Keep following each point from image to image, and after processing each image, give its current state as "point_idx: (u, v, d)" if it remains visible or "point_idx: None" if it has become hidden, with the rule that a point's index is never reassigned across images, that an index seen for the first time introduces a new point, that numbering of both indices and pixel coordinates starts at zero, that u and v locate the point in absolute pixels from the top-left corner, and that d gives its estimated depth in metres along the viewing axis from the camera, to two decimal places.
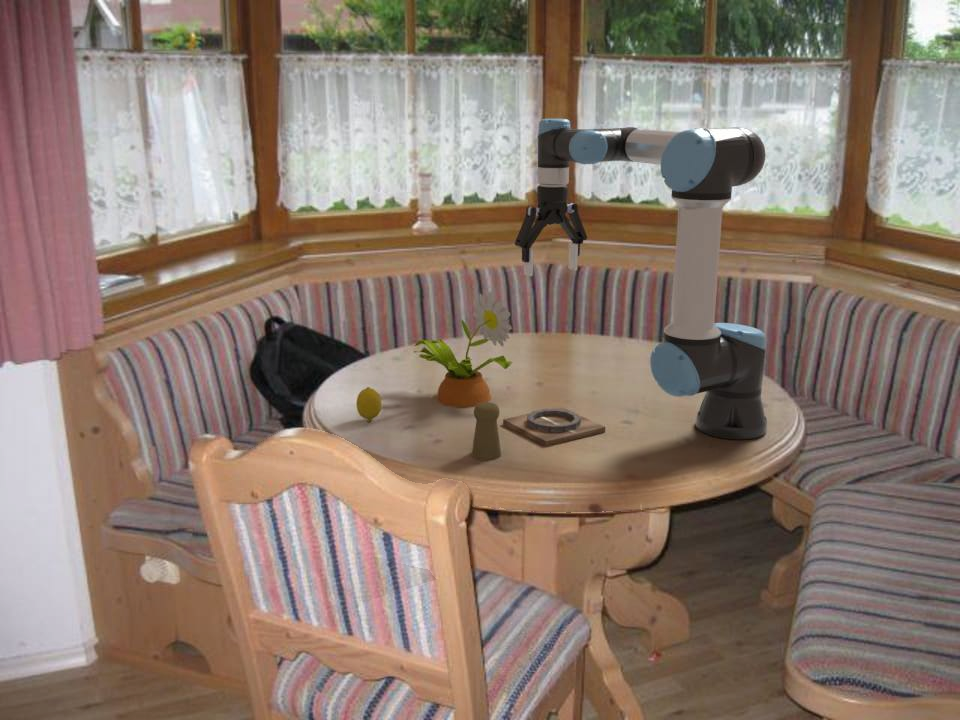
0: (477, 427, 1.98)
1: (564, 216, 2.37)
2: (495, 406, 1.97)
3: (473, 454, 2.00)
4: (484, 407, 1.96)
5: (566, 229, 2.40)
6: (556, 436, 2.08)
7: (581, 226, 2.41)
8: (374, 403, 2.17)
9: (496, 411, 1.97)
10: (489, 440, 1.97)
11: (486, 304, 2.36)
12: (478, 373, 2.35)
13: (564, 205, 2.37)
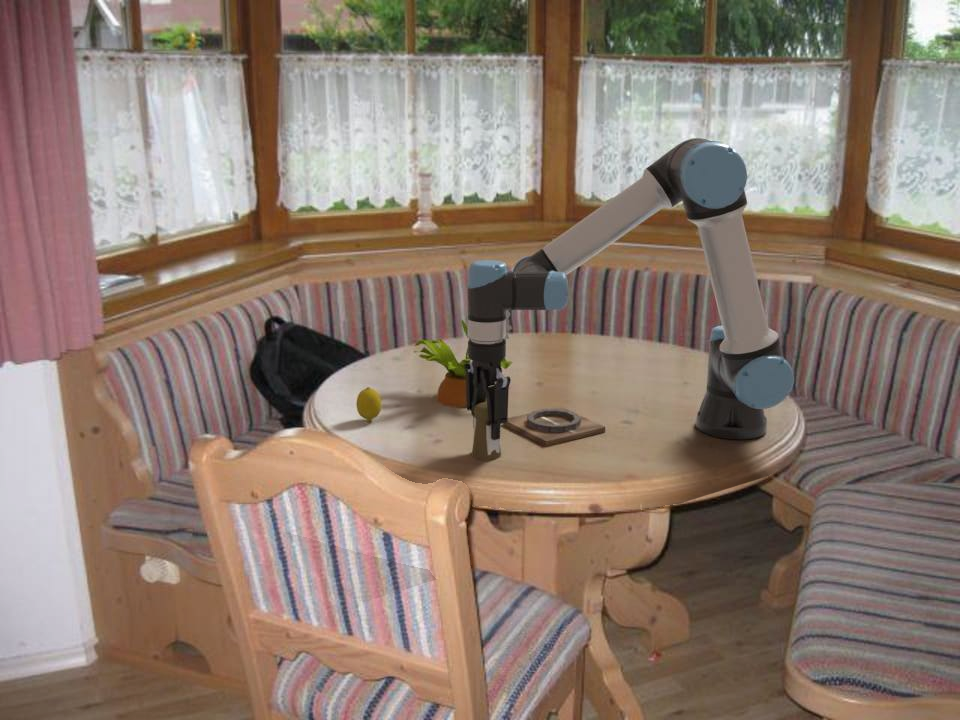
0: (477, 427, 1.98)
1: (484, 381, 1.94)
2: None
3: (473, 454, 2.00)
4: (484, 407, 1.96)
5: None
6: (556, 436, 2.08)
7: (496, 406, 1.93)
8: (374, 403, 2.17)
9: None
10: None
11: None
12: None
13: (491, 368, 1.92)
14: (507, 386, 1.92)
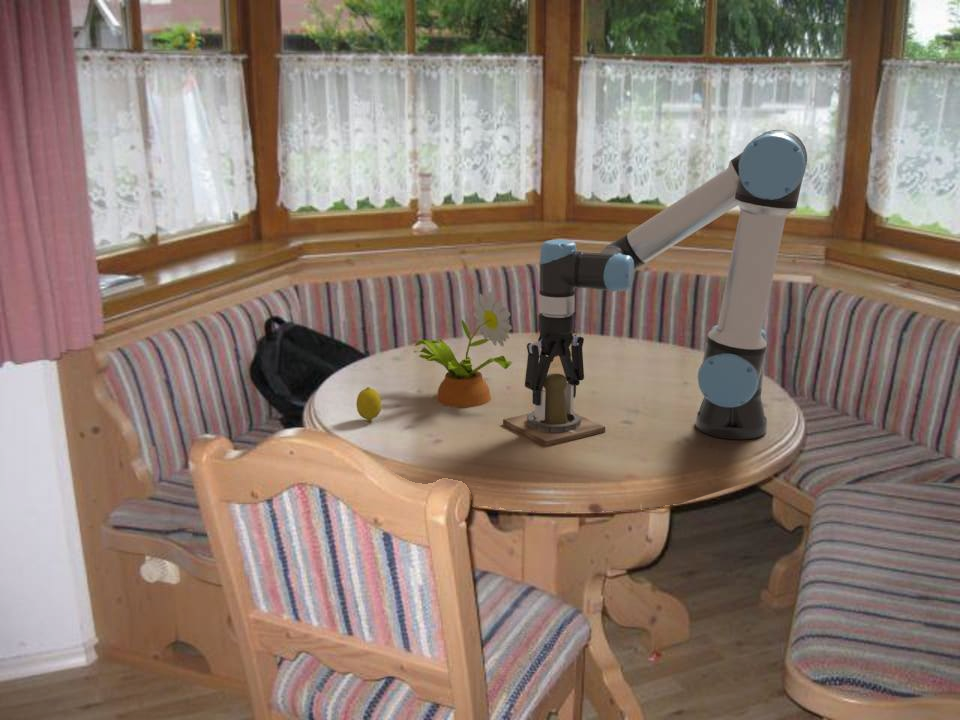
0: (560, 397, 2.12)
1: (567, 349, 2.10)
2: None
3: None
4: (563, 376, 2.12)
5: (565, 364, 2.13)
6: (556, 436, 2.08)
7: (581, 364, 2.14)
8: (374, 403, 2.17)
9: None
10: None
11: (486, 304, 2.36)
12: (478, 373, 2.35)
13: (570, 334, 2.11)
14: None
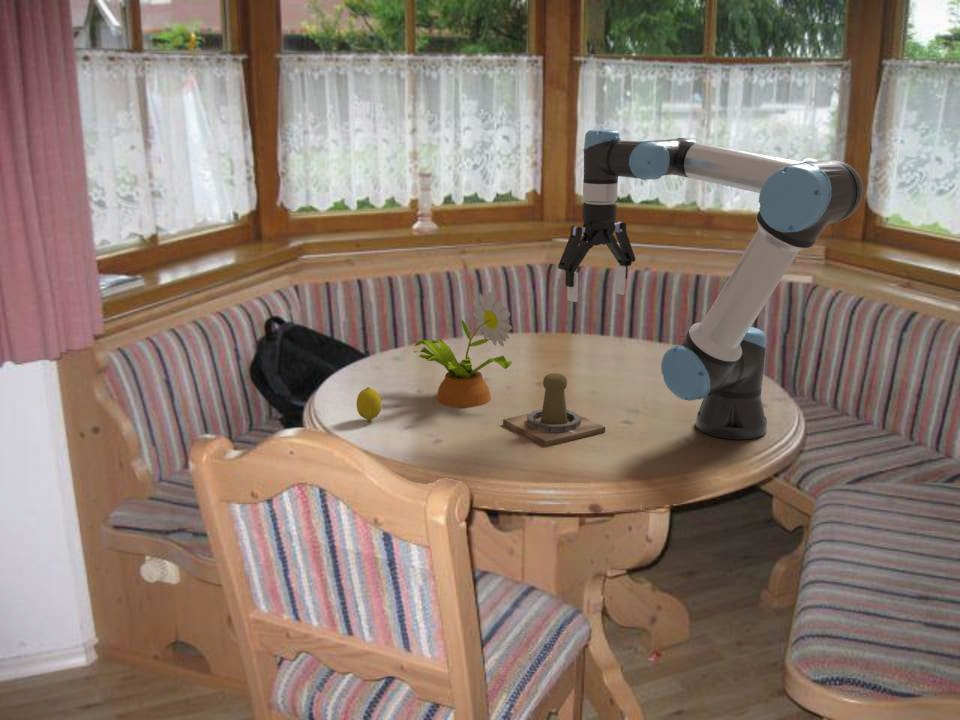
0: (560, 397, 2.12)
1: (612, 236, 2.16)
2: None
3: None
4: (563, 376, 2.12)
5: (613, 250, 2.19)
6: (556, 436, 2.08)
7: (629, 247, 2.21)
8: (374, 403, 2.17)
9: None
10: None
11: (486, 304, 2.36)
12: (478, 373, 2.35)
13: (612, 224, 2.16)
14: None
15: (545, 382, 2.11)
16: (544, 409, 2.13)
